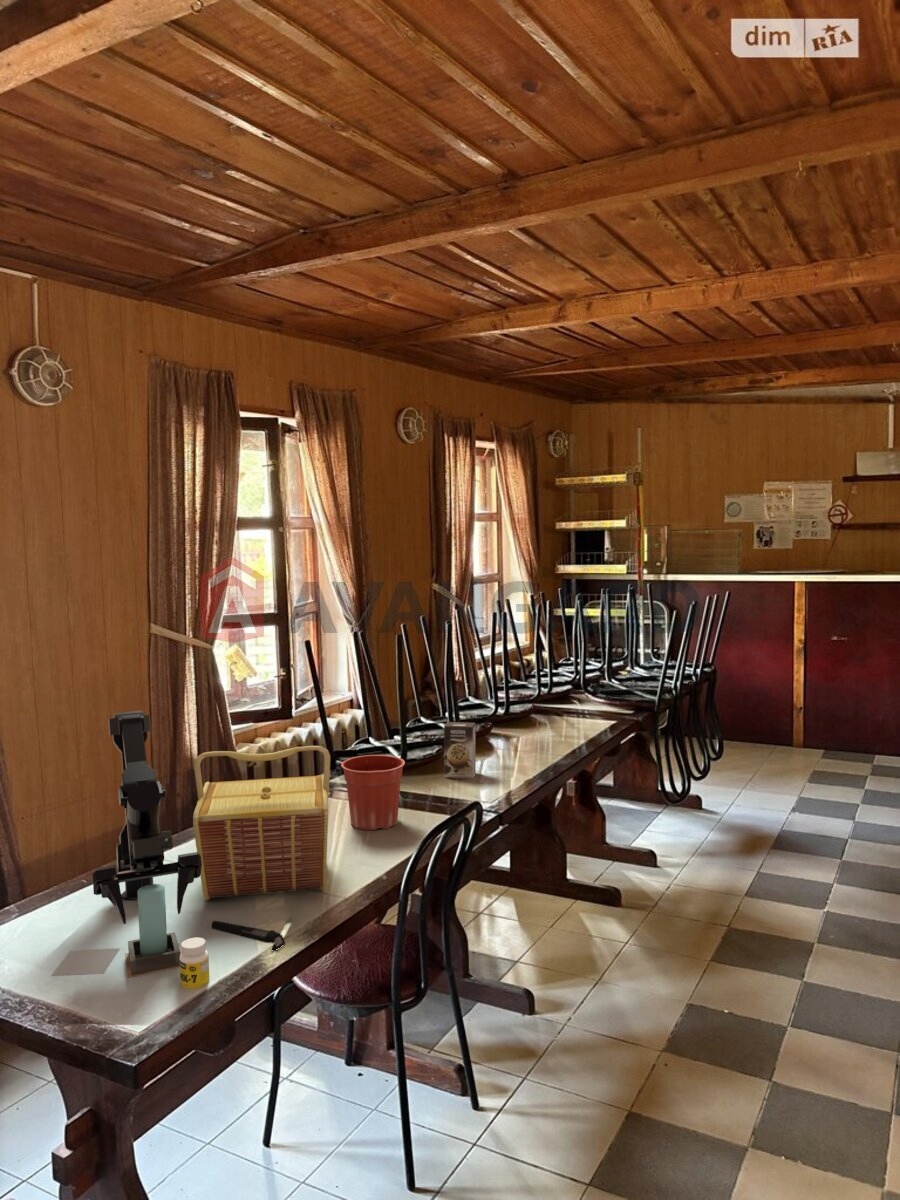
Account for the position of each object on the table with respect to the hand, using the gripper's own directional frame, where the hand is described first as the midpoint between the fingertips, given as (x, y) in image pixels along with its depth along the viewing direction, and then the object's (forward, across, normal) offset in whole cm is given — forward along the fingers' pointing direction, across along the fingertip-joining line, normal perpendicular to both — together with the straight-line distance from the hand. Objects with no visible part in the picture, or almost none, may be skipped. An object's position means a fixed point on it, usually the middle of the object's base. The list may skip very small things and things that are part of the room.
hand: (152, 918), depth 157 cm
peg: (+5, 0, +6) cm, 8 cm away
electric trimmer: (+4, +17, +10) cm, 20 cm away
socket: (+6, 0, +7) cm, 9 cm away
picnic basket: (-14, +26, +28) cm, 41 cm away
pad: (+3, -11, +10) cm, 15 cm away
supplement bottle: (+14, +6, 0) cm, 15 cm away
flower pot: (-33, +60, +46) cm, 82 cm away
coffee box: (-54, +97, +66) cm, 129 cm away
